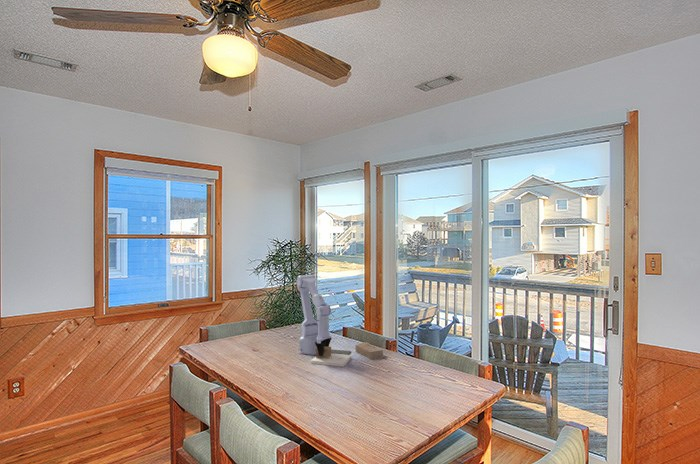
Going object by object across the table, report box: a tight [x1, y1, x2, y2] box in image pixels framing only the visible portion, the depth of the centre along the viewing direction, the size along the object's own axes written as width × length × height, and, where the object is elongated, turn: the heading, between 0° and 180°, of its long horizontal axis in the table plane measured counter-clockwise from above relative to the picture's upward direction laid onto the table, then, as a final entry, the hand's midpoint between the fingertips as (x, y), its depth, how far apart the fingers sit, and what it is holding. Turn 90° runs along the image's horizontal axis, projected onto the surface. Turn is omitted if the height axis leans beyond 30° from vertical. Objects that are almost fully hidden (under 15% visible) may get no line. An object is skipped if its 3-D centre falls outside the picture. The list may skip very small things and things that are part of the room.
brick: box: [354, 342, 384, 360], centre depth 209 cm, size 17×8×5 cm, turn 33°
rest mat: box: [331, 348, 352, 355], centre depth 210 cm, size 12×8×1 cm, turn 74°
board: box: [310, 353, 352, 367], centre depth 198 cm, size 18×14×2 cm
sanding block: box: [315, 346, 332, 359], centre depth 199 cm, size 7×5×5 cm
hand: (323, 353), depth 199 cm, fingers open, 7 cm apart
